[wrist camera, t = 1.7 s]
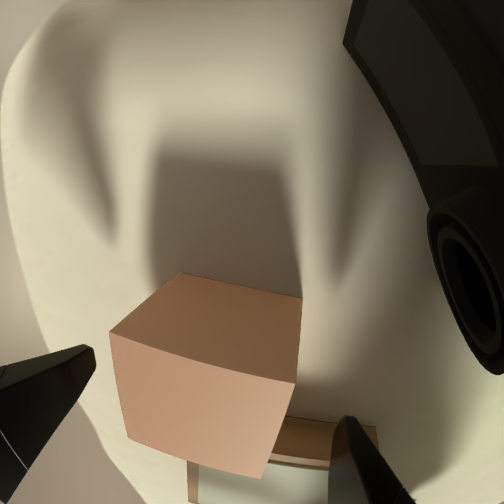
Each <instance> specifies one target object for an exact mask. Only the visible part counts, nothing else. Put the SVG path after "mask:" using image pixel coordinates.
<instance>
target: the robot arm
mask: <svg viewBox="0 0 504 504" xmlns="http://www.w3.org/2000/svg"><path fill="white" fill-rule="evenodd" d="M95 369H96V360H95V354H94V350H93V348H92V347H90V346H88V345H85V344H82V345H78V346H75V347H71V348H68V349H64V350H61V351H57V352H54V353H50V354H46V355H43V356H39V357H35V358H32V359H28V360H24V361H21V362H17V363H13V364H9V365H5V366H1V367H0V500H1V502H3V503H4V504H7V502H8V501H9V499H10V498H11V496H12V495H13V493H14V491H15V490H16V488H17V487H18V485H19V483H20V482H21V480H22V479H23V477H24V476H25V474H26V473H27V471H28V470H29V468H30V467H31V465H32V463H33V462H34V461H35V459H36V458H37V456H38V455H39V453H40V452H41V450H42V449H43V447H44V446H45V445H46V443H47V442H48V440H49V439H50V437H51V436H52V434H53V433H54V432H55V430H56V429H57V428H58V426H59V425H60V423H61V422H62V421H63V419H64V417H65V416H66V415H67V414H68V412H69V411H70V410H71V408H72V407H73V405H74V404H75V403H76V401H77V400H78V398H79V397H80V395H81V393H82V392H83V390H84V388H85V387H86V385H87V383H88V381H89V380H90V378H91V376H92V375H93V373H94V371H95ZM328 504H416V503H415V501H414V500H413V499H412V497H411V496H410V495H409V493H408V492H407V491H406V489H405V488H403V485H402V484H401V482H400V481H399V479H398V478H397V476H396V475H395V474H394V472H393V471H392V469H391V468H390V466H389V465H388V463H387V462H386V461H385V459H384V458H383V456H382V455H381V453H380V452H379V451H378V449H377V448H376V446H375V445H374V443H373V442H372V440H371V439H370V438H369V436H368V435H367V433H366V432H365V430H364V429H363V427H362V426H361V425H360V423H359V422H358V420H357V419H356V417H354V416H346V415H344V416H342V417H341V419H340V421H339V423H338V425H337V427H336V429H335V431H334V434H333V441H332V449H331V457H330V464H329V472H328Z"/></svg>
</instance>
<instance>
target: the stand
mask: <svg viewBox="0 0 504 504" xmlns="http://www.w3.org/2000/svg"><path fill="white" fill-rule="evenodd" d="M337 425H338V424H336V423H327V422H319V421H312V420H305V419H299V418H293V417H287V416H284V419H283V422H282V425H281V428H280V430H279V433H278V436H277V439H276V441H275V444H274V447H273V449H272V452H271V454H270V457H269V460H268V462H267V465H266V467H265V470H264V472H263V475H262V477H261V479H258V478H252V477H248V476H243V475H238V474H234V473H230V472H226V471H222V470H218V469H214V468H211V467H207V466H204V465H200V464H197V463H194V462H190V461H187V483H188V502H191V503H194V504H328V472H329V464H330V457H331V449H332V441H333V434H334V431H335V429H336V427H337ZM362 427H363V429H364V430H365V432H366V433H367V435H368V436H369V438H370V439H371V440H372V442H373V443H374V445H375V446H376V448H377V449H378V451H379V448H378V441H377V434H376V428H375V427H369V426H362Z"/></svg>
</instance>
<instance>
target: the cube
mask: <svg viewBox="0 0 504 504" xmlns="http://www.w3.org/2000/svg"><path fill="white" fill-rule="evenodd" d="M302 302H303V299H301V298H296V297H291V296H286V295H281V294H276V293H271V292H267V291H262V290H257V289H252V288H247V287H243V286H238V285H234V284H229V283H224V282H220V281H215V280H211V279H206V278H202V277H198V276H193V275H189V274H185V273H180V272H178V273H177V274H176V275H175V276H174V277H172V278H171V279H170V280H169V281H168V282H166V283H165V284H164V285H163V286H162V287H160V288H159V289H158V290H157V291H156V292H155V293H153V294H152V295H151V296H150V297H149V298H147V299H146V300H145V301H144V302H143V303H142V304H140V305H139V306H138V307H137V308H136V309H135V310H133V311H132V312H131V313H130V314H129V315H128V316H126V317H125V318H124V319H123V320H122V321H121V322H120V323H118V324H117V325H116V326H115V327H114V328H113V329H112V330H110V331H109V336H110V344H111V352H112V359H113V366H114V372H115V378H116V384H117V389H118V395H119V400H120V405H121V409H122V414H123V418H124V423H125V427H126V431H127V435H128V438H129V439H132V440H134V441H136V442H139V443H141V444H144V445H146V446H148V447H151V448H154V449H156V450H159V451H161V452H164V453H167V454H170V455H172V456H175V457H178V458H181V459H184V460H187V461H190V462H194V463H197V464H200V465H204V466H207V467H211V468H214V469H218V470H222V471H226V472H230V473H234V474H238V475H243V476H248V477H252V478H258V479H261V477H262V475H263V472H264V470H265V467H266V465H267V462H268V460H269V457H270V454H271V452H272V449H273V447H274V444H275V441H276V439H277V436H278V433H279V430H280V428H281V425H282V422H283V419H284V416H285V414H286V411H287V408H288V405H289V402H290V399H291V396H292V393H293V390H294V387H295V384H296V374H297V364H298V353H299V342H300V329H301V316H302Z"/></svg>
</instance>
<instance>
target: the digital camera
mask: <svg viewBox="0 0 504 504" xmlns="http://www.w3.org/2000/svg"><path fill="white" fill-rule="evenodd" d="M343 45H344V47H345V48H346V49H347V51H348V52H349V54H350V55H351V57H352V58H353V60H354V61H355V63H356V64H357V66H358V67H359V69H360V70H361V72H362V73H363V75H364V76H365V78H366V80H367V81H368V83H369V84H370V86H371V88H372V89H373V91H374V93H375V94H376V96H377V98H378V99H379V101H380V103H381V105H382V107H383V108H384V110H385V112H386V114H387V116H388V117H389V119H390V121H391V123H392V125H393V127H394V129H395V131H396V133H397V135H398V137H399V139H400V141H401V143H402V145H403V147H404V149H405V151H406V153H407V155H408V158H409V160H410V162H411V164H412V167H413V169H414V171H415V173H416V176H417V178H418V181H419V183H420V185H421V188H422V190H423V193H424V195H425V198H426V201H427V203H428V206H429V209H430V210H429V212H428V215H427V233H428V240H429V245H430V249H431V253H432V257H433V260H434V264H435V267H436V270H437V274H438V276H439V279H440V282H441V285H442V288H443V290H444V293H445V296H446V298H447V301H448V304H449V306H450V308H451V310H452V313H453V315H454V317H455V320H456V322H457V324H458V326H459V328H460V330H461V332H462V334H463V336H464V338H465V340H466V342H467V344H468V346H469V347H470V349H471V351H472V352H473V354H474V355H475V357H476V358H477V360H478V361H479V362H480V364H481V365H482V366H483V367H484V368H485V369H486V370H487V371H489V372H490V373H492V374H494V375H501V374H503V373H504V0H353V1H352V6H351V10H350V14H349V19H348V23H347V27H346V31H345V35H344V40H343Z"/></svg>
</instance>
